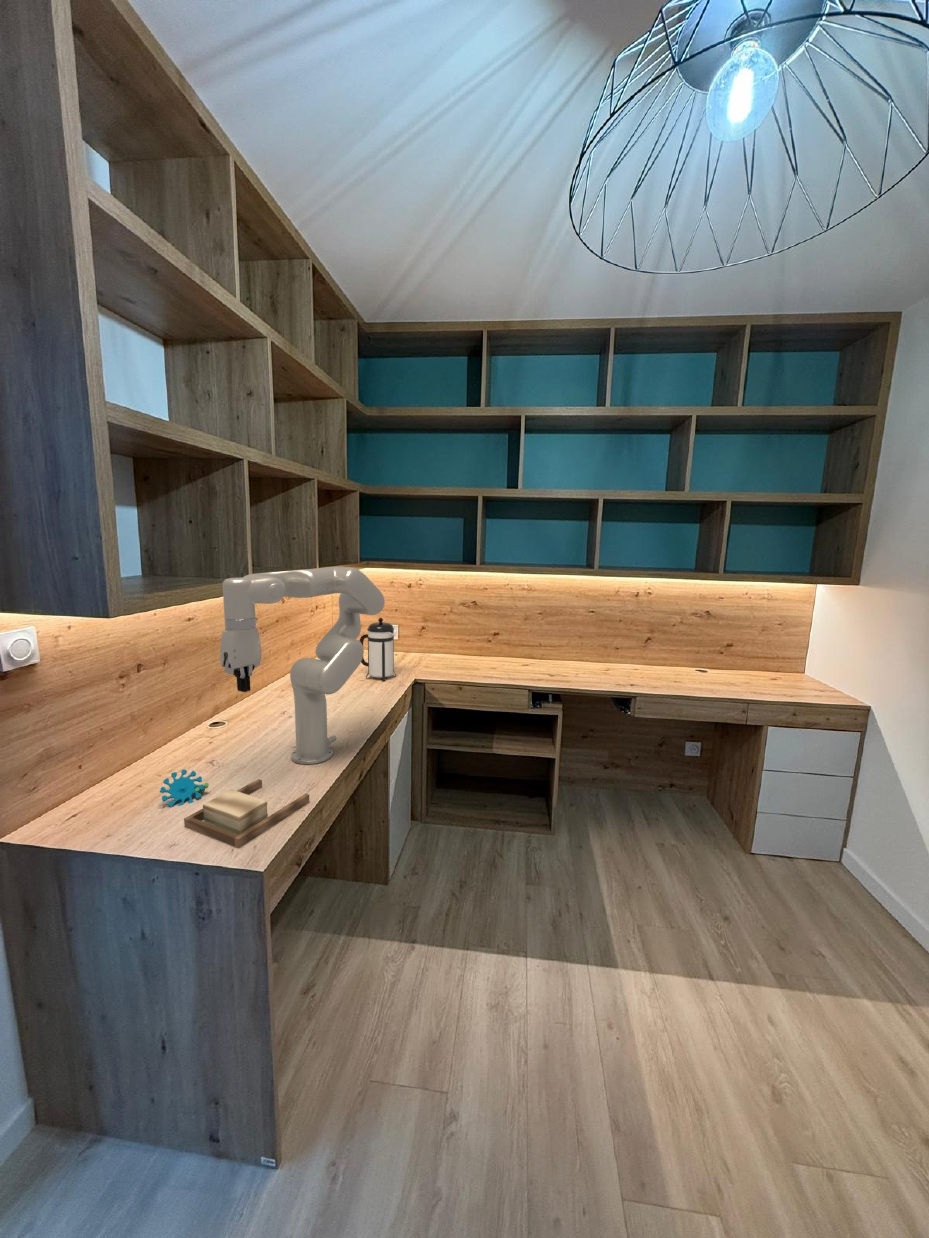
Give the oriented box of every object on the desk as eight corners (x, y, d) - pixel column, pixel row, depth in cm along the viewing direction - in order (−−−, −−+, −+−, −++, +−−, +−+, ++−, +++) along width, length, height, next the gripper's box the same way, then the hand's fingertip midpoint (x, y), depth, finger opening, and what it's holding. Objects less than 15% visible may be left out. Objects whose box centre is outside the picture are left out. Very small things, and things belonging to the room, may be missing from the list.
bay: (259, 789, 138) (258, 779, 138) (309, 805, 131) (309, 794, 130) (184, 830, 119) (183, 818, 118) (239, 851, 111) (238, 839, 111)
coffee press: (393, 672, 259) (393, 614, 254) (398, 681, 244) (398, 619, 239) (359, 674, 254) (358, 615, 249) (361, 683, 239) (361, 620, 234)
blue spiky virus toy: (157, 808, 125) (162, 769, 130) (157, 815, 129) (162, 777, 135) (207, 804, 130) (210, 767, 135) (206, 812, 134) (208, 775, 140)
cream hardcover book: (232, 807, 127) (231, 789, 126) (268, 819, 122) (267, 800, 121) (204, 823, 120) (202, 804, 119) (240, 837, 115) (239, 817, 114)
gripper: (253, 619, 142) (256, 682, 145) (205, 627, 129) (210, 696, 132) (272, 621, 139) (275, 685, 142) (226, 630, 126) (230, 700, 129)
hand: (244, 690), depth 137 cm, fingers closed
